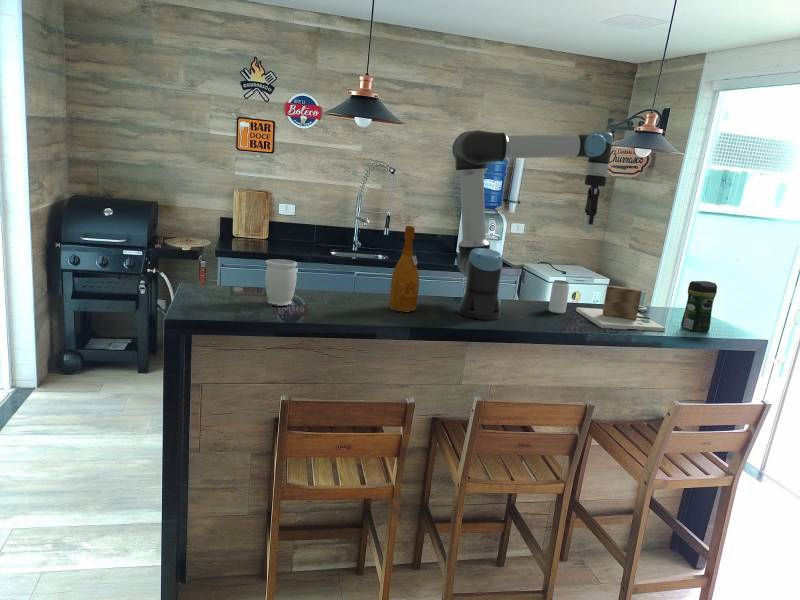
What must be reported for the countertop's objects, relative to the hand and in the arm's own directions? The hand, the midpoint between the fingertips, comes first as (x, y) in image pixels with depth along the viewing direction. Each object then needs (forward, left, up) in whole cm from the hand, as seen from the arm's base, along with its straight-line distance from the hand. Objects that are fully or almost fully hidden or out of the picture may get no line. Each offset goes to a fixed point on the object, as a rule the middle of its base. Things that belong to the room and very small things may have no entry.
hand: (587, 231), depth 227 cm
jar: (-113, -18, -32) cm, 119 cm away
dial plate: (+13, -11, -32) cm, 36 cm away
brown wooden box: (+15, -12, -30) cm, 36 cm away
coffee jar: (+40, -17, -32) cm, 54 cm away
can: (-8, -2, -32) cm, 33 cm away
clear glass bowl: (+32, +10, -32) cm, 47 cm away
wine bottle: (-70, -15, -32) cm, 78 cm away
